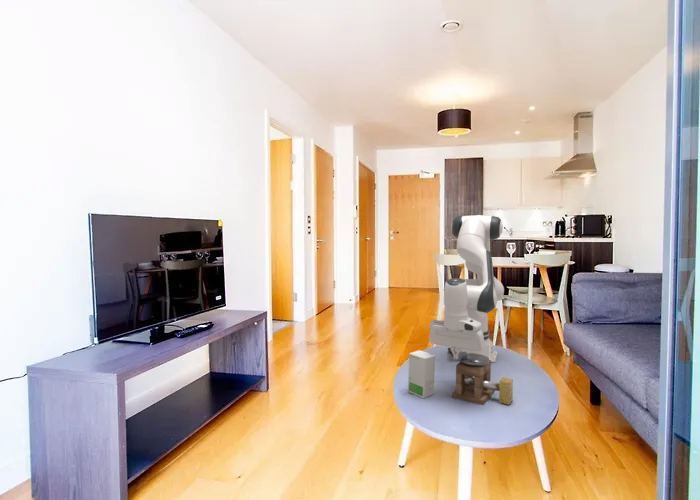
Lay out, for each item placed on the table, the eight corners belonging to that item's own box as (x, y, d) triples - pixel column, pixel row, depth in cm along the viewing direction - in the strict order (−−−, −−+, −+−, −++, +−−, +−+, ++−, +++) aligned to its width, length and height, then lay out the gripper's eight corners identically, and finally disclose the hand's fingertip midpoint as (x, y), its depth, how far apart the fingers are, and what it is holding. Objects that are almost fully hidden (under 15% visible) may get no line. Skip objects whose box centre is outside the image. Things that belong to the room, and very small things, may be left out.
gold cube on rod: (460, 388, 160) (460, 368, 159) (512, 400, 148) (512, 379, 148) (456, 392, 156) (456, 371, 156) (509, 404, 145) (509, 383, 144)
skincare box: (407, 392, 158) (407, 352, 157) (418, 387, 162) (418, 349, 161) (424, 399, 151) (424, 358, 150) (435, 394, 155) (435, 354, 154)
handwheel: (481, 356, 160) (482, 342, 160) (493, 366, 149) (494, 351, 149) (443, 357, 159) (443, 344, 158) (452, 367, 148) (452, 352, 147)
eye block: (464, 385, 164) (464, 354, 163) (494, 391, 157) (495, 360, 156) (451, 397, 152) (451, 364, 152) (483, 405, 146) (483, 371, 145)
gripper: (426, 320, 154) (426, 356, 155) (480, 327, 142) (480, 365, 143) (433, 317, 159) (433, 351, 160) (485, 323, 147) (485, 360, 148)
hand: (456, 358), depth 151 cm, fingers closed, pressing on handwheel
